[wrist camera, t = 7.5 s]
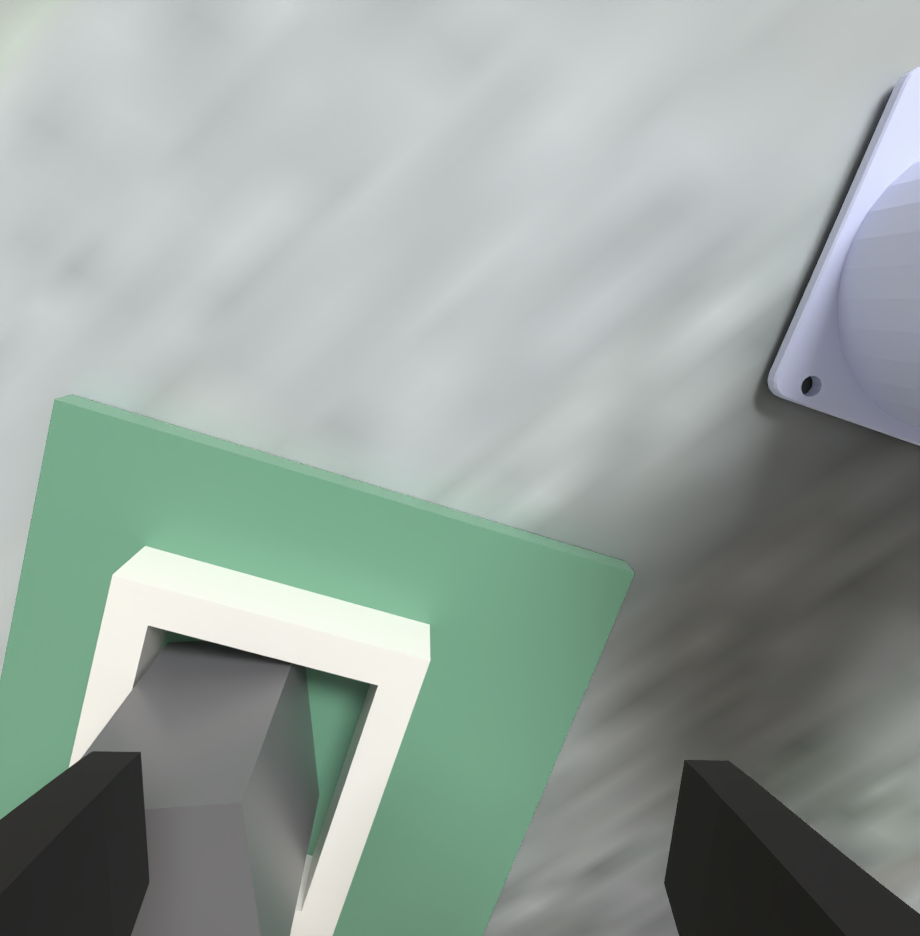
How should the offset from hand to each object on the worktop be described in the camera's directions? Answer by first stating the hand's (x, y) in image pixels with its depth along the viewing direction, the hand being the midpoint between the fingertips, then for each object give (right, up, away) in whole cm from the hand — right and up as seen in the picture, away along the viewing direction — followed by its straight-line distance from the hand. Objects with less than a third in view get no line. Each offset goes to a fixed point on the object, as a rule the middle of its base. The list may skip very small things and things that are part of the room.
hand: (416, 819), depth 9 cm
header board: (-4, -3, +10) cm, 11 cm away
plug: (-5, -2, +9) cm, 11 cm away
